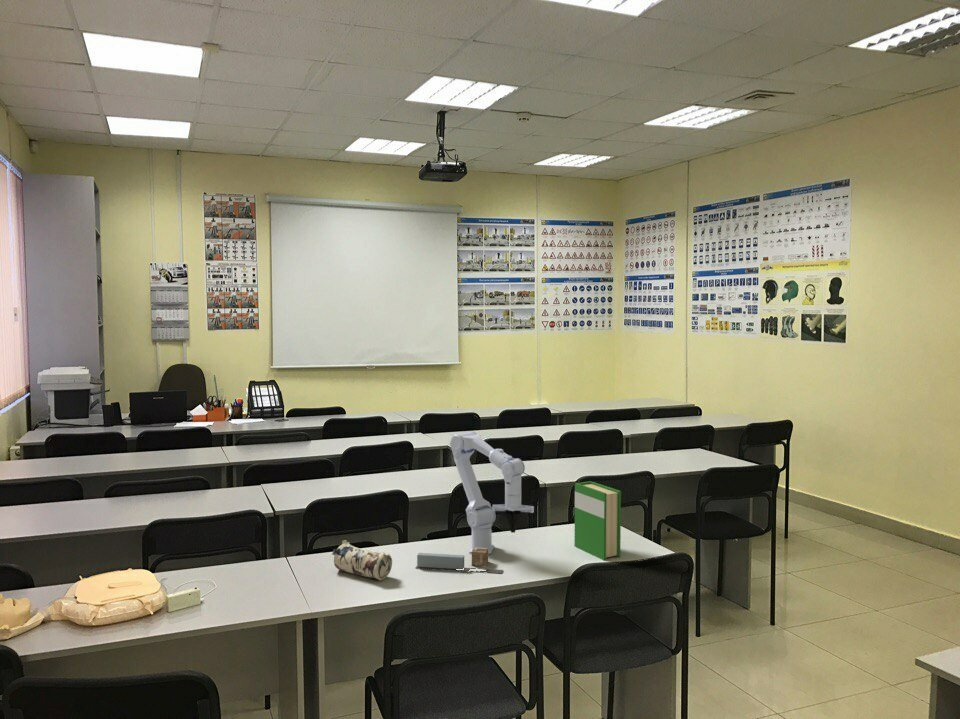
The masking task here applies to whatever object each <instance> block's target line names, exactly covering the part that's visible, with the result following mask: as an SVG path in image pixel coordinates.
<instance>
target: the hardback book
mask: <svg viewBox="0 0 960 719" xmlns="http://www.w3.org/2000/svg"><path fill="white" fill-rule="evenodd" d="M621 504H622V491H621V490H619V489H616V488H613V487H610V486H606V485H604V484H600V483H597V482H593V481H591V480H590V481H583V482H576V483H574V548H577V549H579V550H581V551H583V552H585V553H586V554H589V555H591V556H594V557H596V558H598V559H600V560H602V561H606V560H607V558H611V557H616V558H621V539H622V538H621V535H622V534H621V525H622V524H621V521H622V518H621V515H622V514H621V513H622V512H621V511H622V505H621Z"/></svg>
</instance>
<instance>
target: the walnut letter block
mask: <svg viewBox="0 0 960 719" xmlns="http://www.w3.org/2000/svg"><path fill="white" fill-rule="evenodd" d="M488 563H489V554H488V548H478V547H474V549H473V550H472V553H471V566H472V565H477V566H476V567H484V566H486V567H487V565H488Z"/></svg>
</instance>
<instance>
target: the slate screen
mask: <svg viewBox="0 0 960 719" xmlns="http://www.w3.org/2000/svg"><path fill="white" fill-rule="evenodd" d="M416 559H417V560H416V562H417V564H416V566H418V567H434V568H451V569H463V568H465V555H463V554H447V553H445V554H444V553H429V552H427V553H425V552H418V554H417V556H416Z"/></svg>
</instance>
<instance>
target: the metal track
mask: <svg viewBox="0 0 960 719" xmlns="http://www.w3.org/2000/svg"><path fill="white" fill-rule="evenodd" d="M415 568H420V569H419V570H432V569H436V570H435V571H448V570H456V569H451V568H434V567H418V566H417V565H416V567H415ZM470 569H476V568H475V567H464V571H469V570H470ZM486 569H487V570H486V571H480V572H479V573H481V572H487V573H486V574H498V575H501V574H503V572H504V569H495V568H493V569H492V568H486ZM464 571H463V572H464ZM455 572H458V571H457V570H456V571H455ZM475 573H478V572H477V571H476V572H475Z"/></svg>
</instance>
